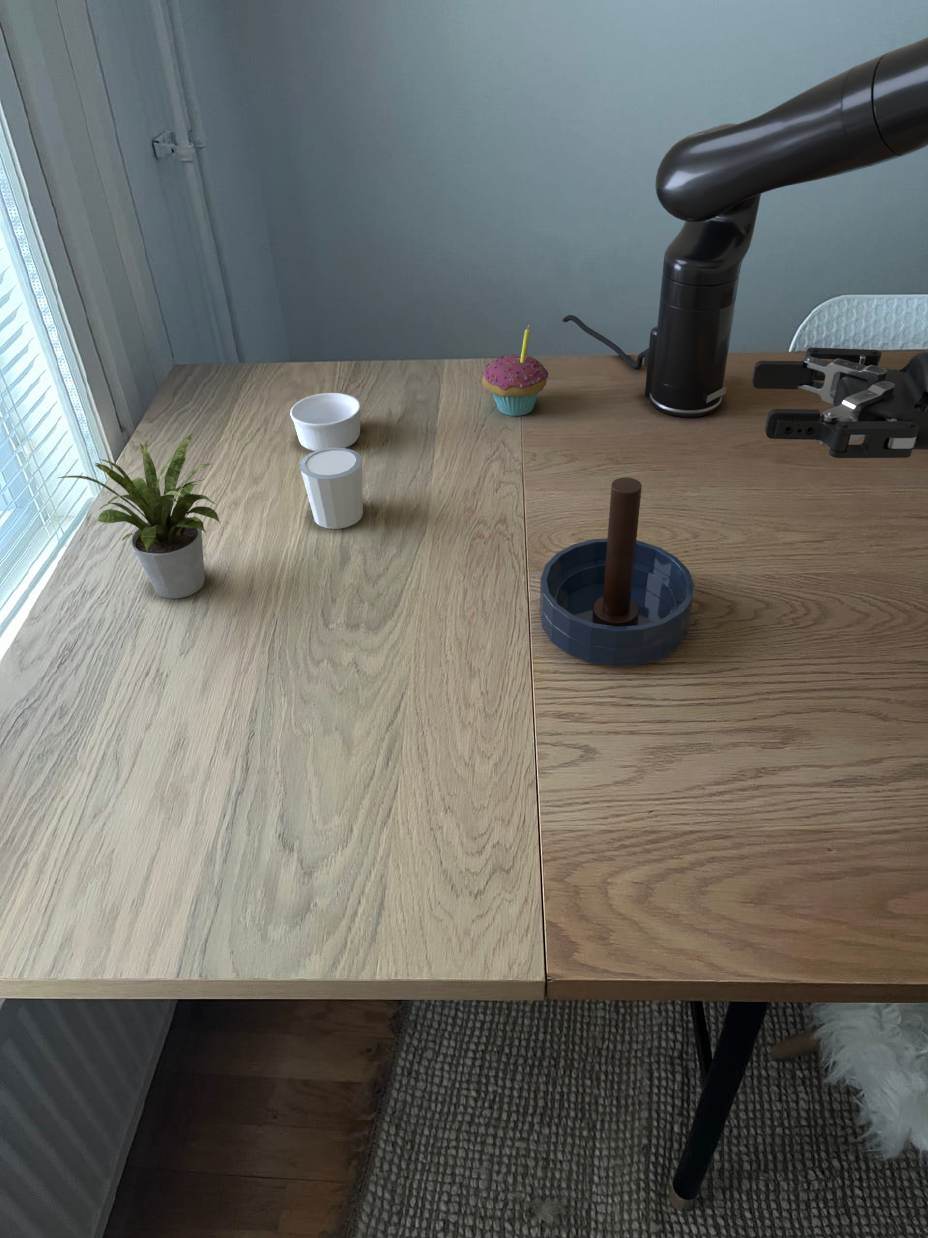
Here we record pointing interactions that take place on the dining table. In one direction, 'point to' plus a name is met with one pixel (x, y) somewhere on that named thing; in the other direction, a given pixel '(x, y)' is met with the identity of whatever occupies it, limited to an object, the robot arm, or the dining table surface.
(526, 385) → the cupcake
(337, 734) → the dining table surface
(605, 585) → the stirrer
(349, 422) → the ramekin
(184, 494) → the house plant
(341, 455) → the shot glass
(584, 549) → the bowl
